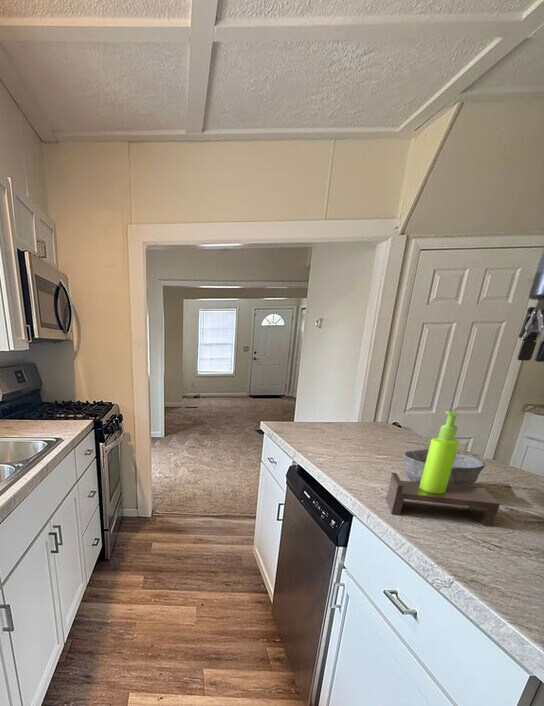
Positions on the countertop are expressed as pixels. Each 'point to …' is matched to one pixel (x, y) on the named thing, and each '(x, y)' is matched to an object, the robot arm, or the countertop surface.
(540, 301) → the robot arm
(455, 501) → the shelf
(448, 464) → the soap dispenser
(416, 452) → the bowl
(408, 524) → the countertop surface
